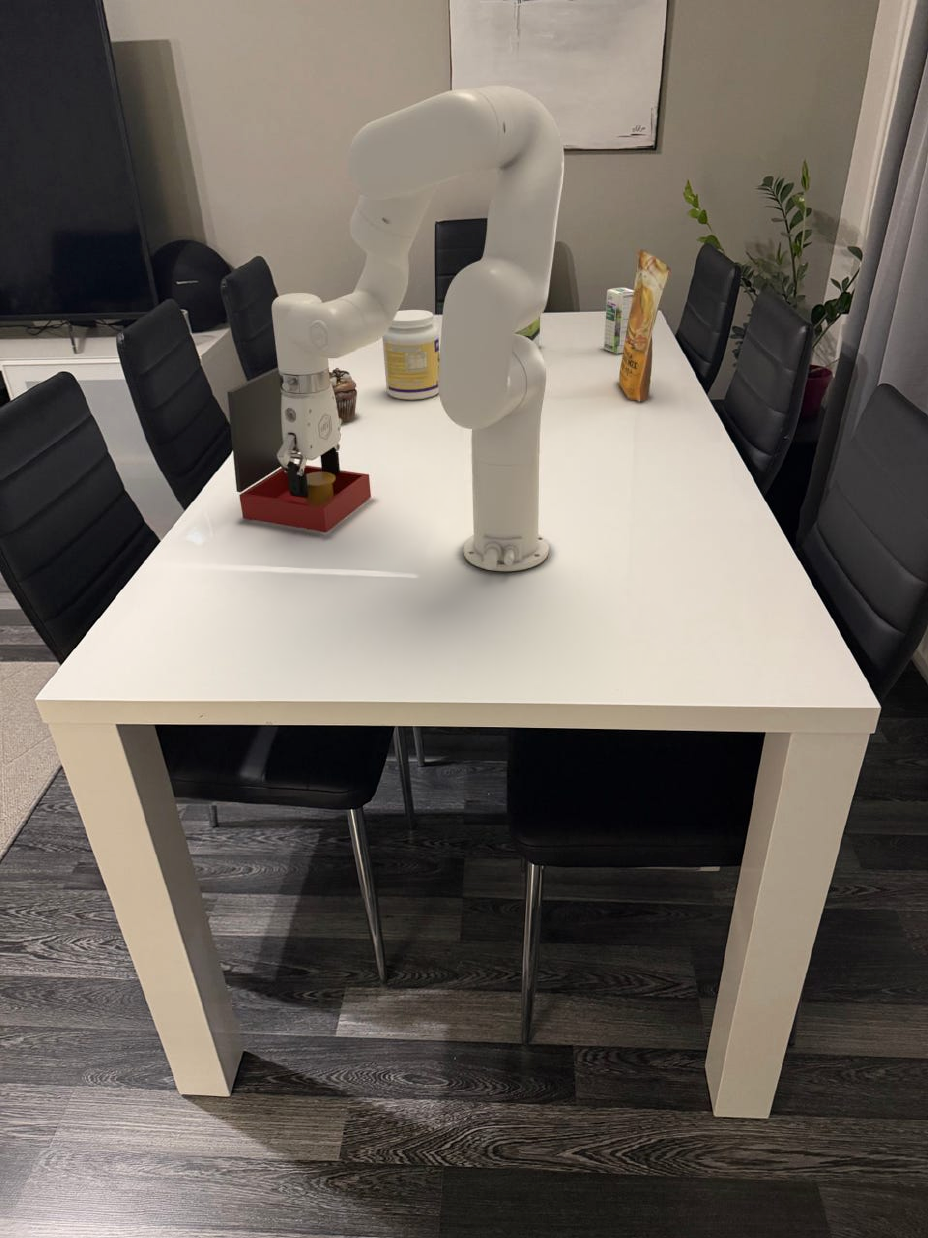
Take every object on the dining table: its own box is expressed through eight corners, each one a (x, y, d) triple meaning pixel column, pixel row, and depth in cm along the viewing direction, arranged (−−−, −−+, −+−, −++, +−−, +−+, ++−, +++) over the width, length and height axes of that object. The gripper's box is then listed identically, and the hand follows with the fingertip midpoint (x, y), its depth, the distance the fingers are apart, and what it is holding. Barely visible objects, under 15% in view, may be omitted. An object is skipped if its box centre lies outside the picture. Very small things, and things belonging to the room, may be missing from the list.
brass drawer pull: (333, 516, 147) (329, 485, 145) (299, 515, 148) (295, 484, 145) (342, 502, 152) (339, 472, 149) (309, 501, 153) (306, 471, 150)
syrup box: (602, 349, 231) (605, 289, 223) (622, 345, 233) (626, 286, 226) (615, 354, 226) (618, 293, 219) (635, 351, 229) (639, 290, 221)
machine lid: (285, 365, 148) (281, 365, 148) (231, 392, 137) (227, 391, 137) (290, 460, 157) (286, 459, 157) (240, 492, 146) (236, 491, 146)
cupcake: (336, 407, 197) (331, 361, 192) (368, 416, 192) (364, 368, 187) (303, 420, 191) (297, 372, 186) (335, 429, 186) (330, 380, 181)
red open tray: (371, 500, 154) (369, 474, 152) (326, 536, 143) (323, 508, 141) (292, 488, 160) (289, 462, 158) (243, 522, 149) (238, 494, 146)
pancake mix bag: (643, 377, 210) (653, 246, 195) (661, 403, 193) (673, 263, 179) (614, 378, 209) (621, 247, 195) (629, 405, 193) (638, 264, 179)
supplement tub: (449, 396, 202) (446, 317, 193) (396, 404, 198) (390, 324, 189) (430, 381, 212) (426, 306, 203) (379, 389, 208) (373, 312, 199)
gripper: (295, 400, 131) (307, 509, 140) (354, 367, 145) (362, 469, 154) (251, 394, 134) (265, 501, 143) (313, 362, 147) (323, 462, 156)
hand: (315, 484), depth 148 cm, fingers open, 9 cm apart
